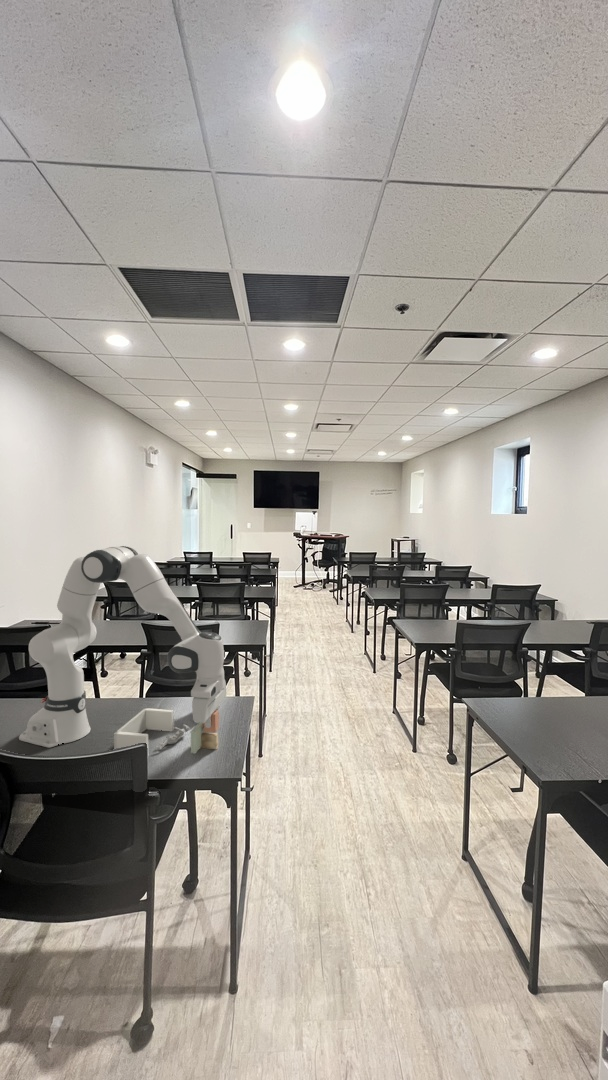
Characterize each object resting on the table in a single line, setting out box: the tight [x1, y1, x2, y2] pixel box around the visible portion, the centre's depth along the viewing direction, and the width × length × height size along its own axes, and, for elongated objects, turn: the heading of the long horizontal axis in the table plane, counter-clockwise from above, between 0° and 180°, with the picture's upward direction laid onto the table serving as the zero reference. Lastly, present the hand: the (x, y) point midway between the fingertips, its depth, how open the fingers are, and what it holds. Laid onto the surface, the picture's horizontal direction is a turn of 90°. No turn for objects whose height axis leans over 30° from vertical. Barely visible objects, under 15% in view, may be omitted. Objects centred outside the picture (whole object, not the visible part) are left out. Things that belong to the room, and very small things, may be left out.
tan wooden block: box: [199, 732, 219, 750], centre depth 148 cm, size 8×2×5 cm, turn 80°
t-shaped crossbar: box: [190, 709, 220, 754], centre depth 148 cm, size 6×12×11 cm, turn 170°
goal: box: [113, 707, 175, 757], centre depth 152 cm, size 11×19×7 cm, turn 170°
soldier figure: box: [155, 723, 190, 751], centre depth 151 cm, size 8×5×12 cm
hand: (211, 723), depth 147 cm, fingers closed on t-shaped crossbar, 3 cm apart
